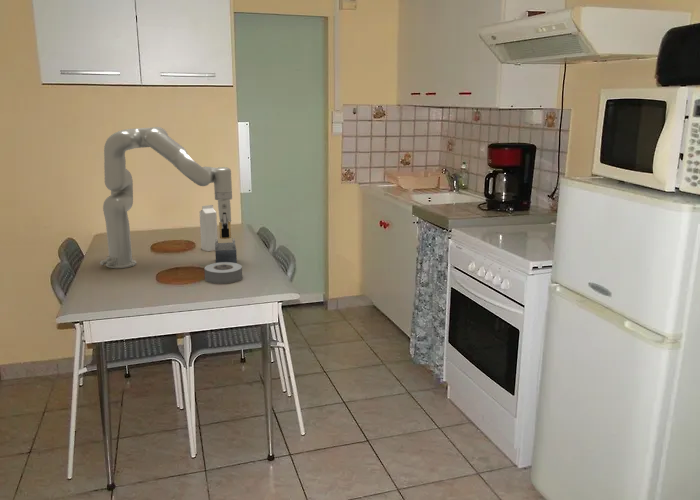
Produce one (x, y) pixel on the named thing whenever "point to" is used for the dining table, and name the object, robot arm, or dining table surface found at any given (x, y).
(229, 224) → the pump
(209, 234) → the milk
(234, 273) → the tape roll
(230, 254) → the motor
